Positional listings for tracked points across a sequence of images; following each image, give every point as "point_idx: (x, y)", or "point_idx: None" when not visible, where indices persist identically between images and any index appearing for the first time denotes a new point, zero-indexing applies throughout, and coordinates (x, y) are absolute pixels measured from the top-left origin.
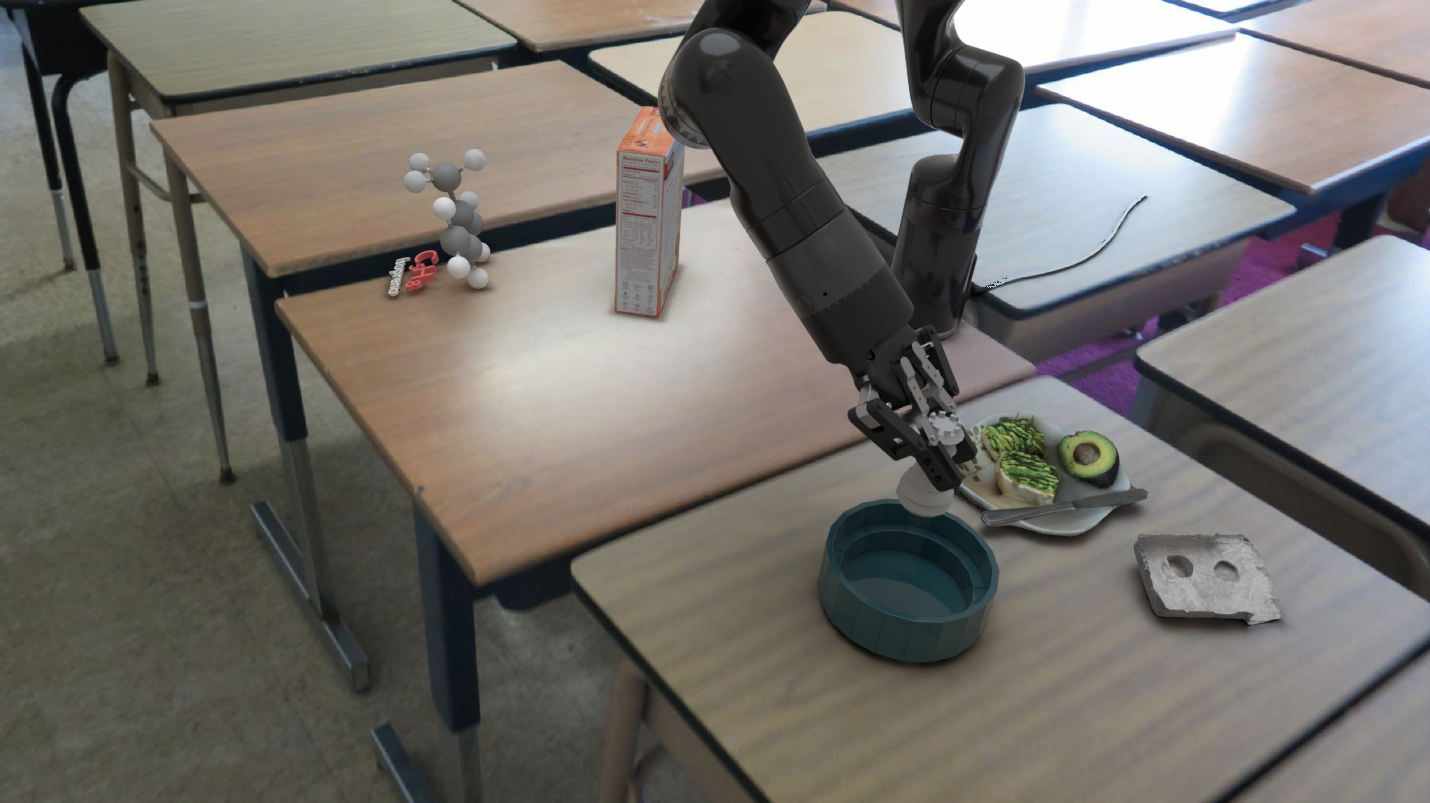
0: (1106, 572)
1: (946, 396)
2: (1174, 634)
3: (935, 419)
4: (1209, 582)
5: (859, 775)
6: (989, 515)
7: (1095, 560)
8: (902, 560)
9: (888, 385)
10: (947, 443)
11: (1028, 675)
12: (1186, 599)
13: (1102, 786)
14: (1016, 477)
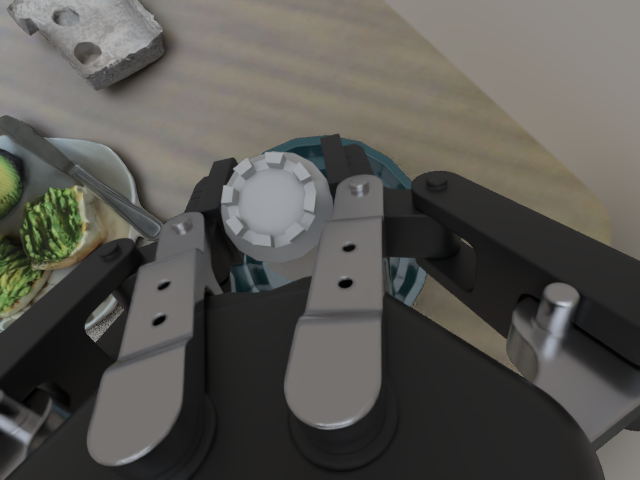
0: (137, 113)
1: (173, 245)
2: (175, 34)
3: (265, 232)
4: (90, 27)
5: (537, 164)
6: (151, 231)
7: (128, 128)
8: (275, 274)
9: (488, 367)
10: (315, 169)
11: (319, 108)
12: (125, 38)
13: (386, 10)
14: (75, 230)
